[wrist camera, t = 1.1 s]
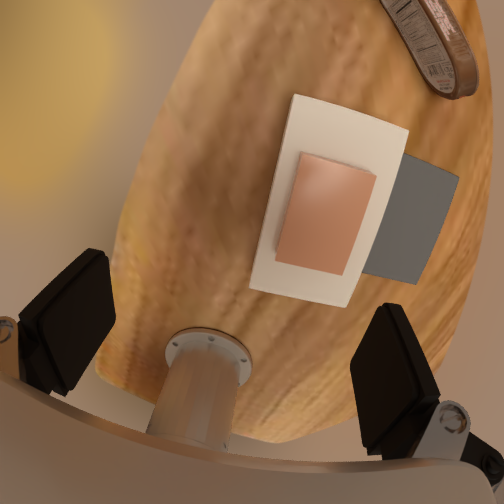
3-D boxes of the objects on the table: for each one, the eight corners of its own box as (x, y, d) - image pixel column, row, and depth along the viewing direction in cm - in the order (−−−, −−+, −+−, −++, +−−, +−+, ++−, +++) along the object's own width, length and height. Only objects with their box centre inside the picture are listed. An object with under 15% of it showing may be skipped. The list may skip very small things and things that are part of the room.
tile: (338, 264, 26) (342, 275, 25) (275, 250, 26) (274, 260, 25) (369, 171, 22) (376, 175, 21) (300, 151, 22) (302, 154, 21)
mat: (415, 283, 32) (416, 284, 32) (344, 267, 32) (344, 268, 32) (458, 176, 26) (459, 177, 26) (384, 145, 26) (385, 146, 26)
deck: (338, 282, 33) (345, 308, 29) (253, 263, 33) (248, 288, 28) (389, 127, 25) (409, 130, 20) (291, 97, 25) (294, 93, 20)
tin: (448, 95, 22) (496, 95, 15) (427, 103, 23) (472, 104, 16) (382, -25, 17) (410, -58, 10) (358, -20, 18) (381, -56, 10)
